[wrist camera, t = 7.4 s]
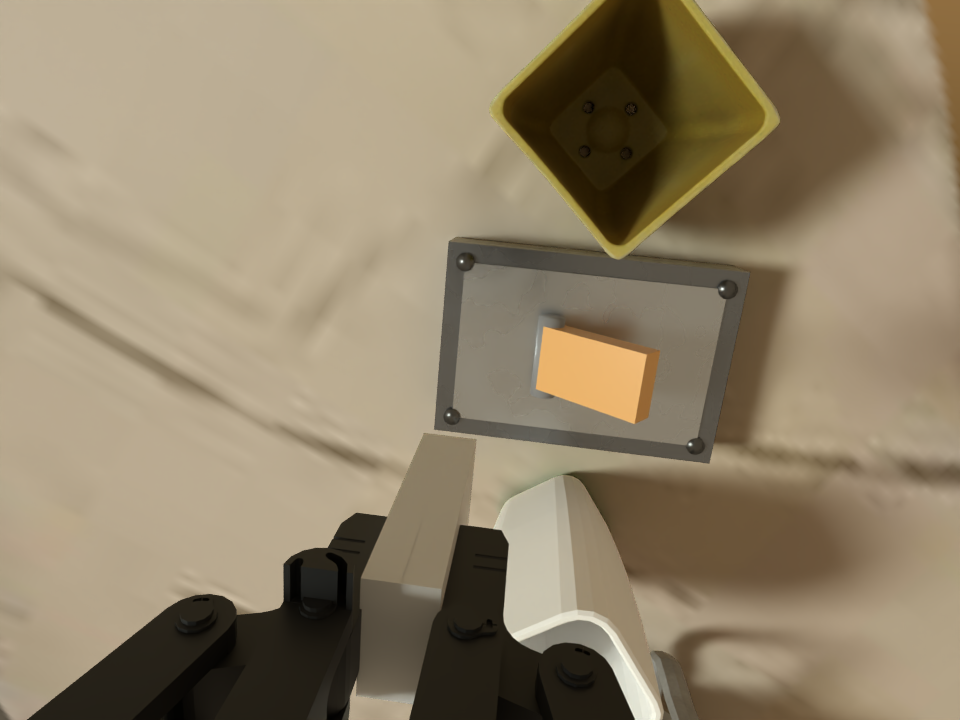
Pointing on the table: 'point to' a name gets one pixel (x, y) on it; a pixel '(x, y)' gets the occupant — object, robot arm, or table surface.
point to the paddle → (593, 370)
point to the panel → (594, 308)
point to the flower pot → (650, 130)
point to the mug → (672, 688)
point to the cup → (574, 586)
